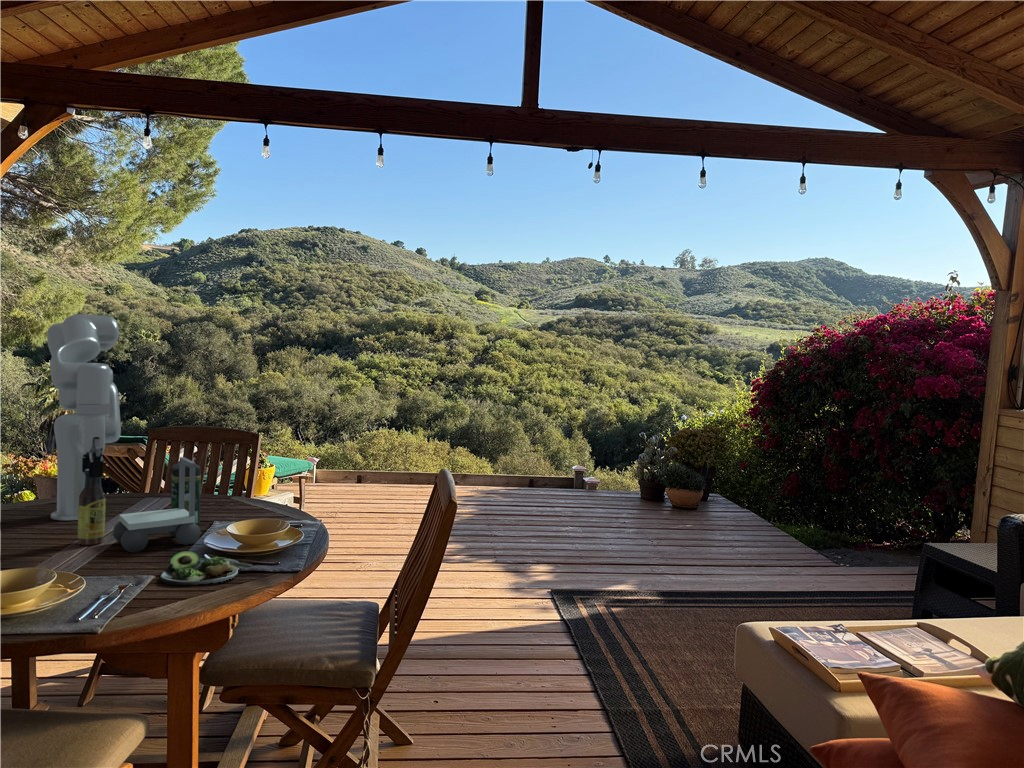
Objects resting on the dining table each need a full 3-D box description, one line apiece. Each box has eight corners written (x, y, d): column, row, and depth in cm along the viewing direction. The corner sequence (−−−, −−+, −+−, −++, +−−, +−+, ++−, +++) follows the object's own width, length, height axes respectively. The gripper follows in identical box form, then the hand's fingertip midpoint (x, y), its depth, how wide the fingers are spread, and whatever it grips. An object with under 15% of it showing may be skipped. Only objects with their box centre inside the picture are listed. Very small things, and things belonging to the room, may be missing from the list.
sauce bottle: (91, 547, 182) (92, 472, 182) (71, 545, 184) (72, 470, 183) (110, 540, 189) (111, 468, 188) (91, 538, 190) (91, 466, 189)
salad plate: (256, 562, 177) (256, 544, 177) (245, 586, 159) (246, 566, 159) (174, 564, 172) (174, 546, 172) (154, 589, 155) (154, 568, 155)
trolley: (112, 543, 187) (113, 461, 186) (187, 533, 199) (189, 456, 198) (122, 554, 178) (123, 468, 177) (200, 543, 190) (201, 462, 189)
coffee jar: (168, 521, 212) (169, 460, 211) (196, 518, 216) (197, 459, 215) (173, 528, 204) (174, 465, 203) (202, 525, 208) (203, 464, 207)
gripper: (71, 408, 189) (70, 471, 189) (82, 413, 175) (81, 480, 176) (102, 408, 194) (102, 469, 194) (115, 412, 180) (115, 478, 181)
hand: (92, 474), depth 185 cm, fingers open, 9 cm apart
